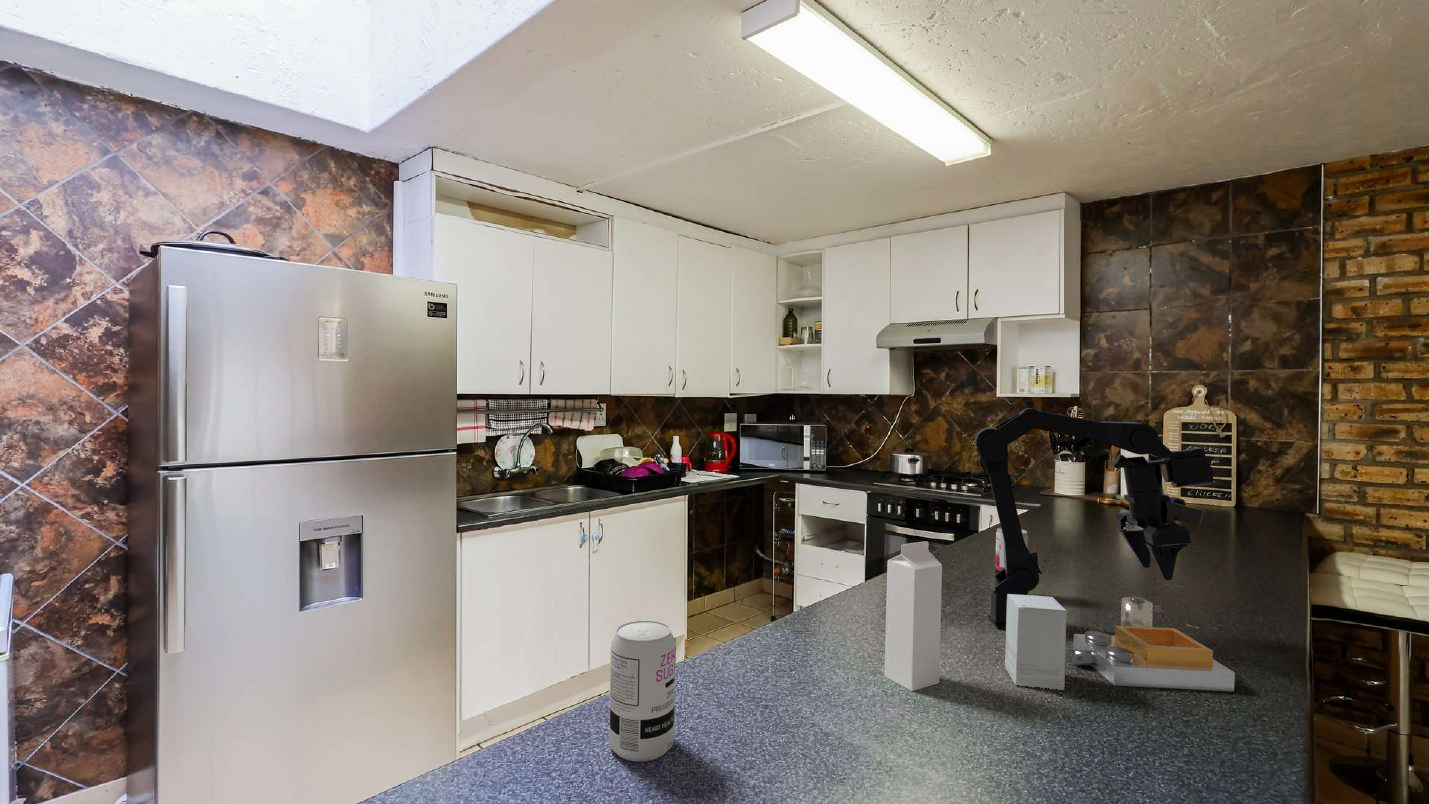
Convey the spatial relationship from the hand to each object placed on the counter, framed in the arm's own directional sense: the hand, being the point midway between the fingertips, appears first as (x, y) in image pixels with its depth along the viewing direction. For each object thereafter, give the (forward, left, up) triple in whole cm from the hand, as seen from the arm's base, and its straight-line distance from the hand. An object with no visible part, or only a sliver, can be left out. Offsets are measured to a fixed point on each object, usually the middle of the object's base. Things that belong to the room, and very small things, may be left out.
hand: (1157, 573), depth 123 cm
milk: (-49, -21, -13) cm, 55 cm away
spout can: (-1, +3, -13) cm, 13 cm away
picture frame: (-9, -12, -13) cm, 20 cm away
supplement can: (-88, -45, -13) cm, 100 cm away
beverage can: (-17, +26, -13) cm, 34 cm away
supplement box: (-29, -18, -13) cm, 37 cm away
